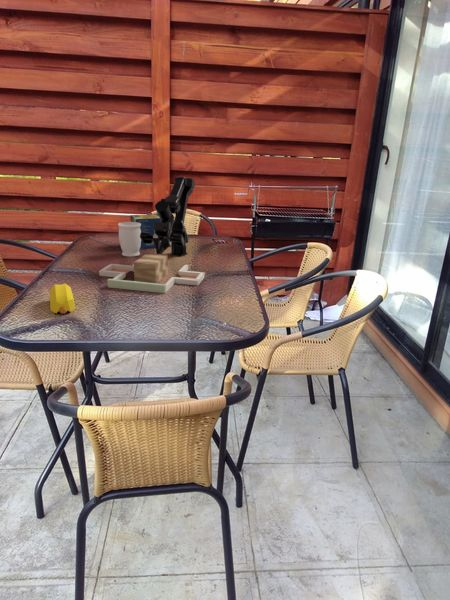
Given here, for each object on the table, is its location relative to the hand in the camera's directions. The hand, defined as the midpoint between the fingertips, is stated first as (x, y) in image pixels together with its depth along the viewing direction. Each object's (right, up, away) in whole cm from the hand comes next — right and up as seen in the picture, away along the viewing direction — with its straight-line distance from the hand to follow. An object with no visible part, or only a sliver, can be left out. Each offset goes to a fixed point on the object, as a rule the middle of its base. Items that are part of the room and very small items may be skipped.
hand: (157, 256), depth 190 cm
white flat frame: (-2, -9, -6) cm, 11 cm away
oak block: (-2, -9, -5) cm, 10 cm away
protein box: (-11, +9, +42) cm, 45 cm away
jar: (-17, +3, +26) cm, 31 cm away
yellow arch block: (-27, -21, -37) cm, 50 cm away
